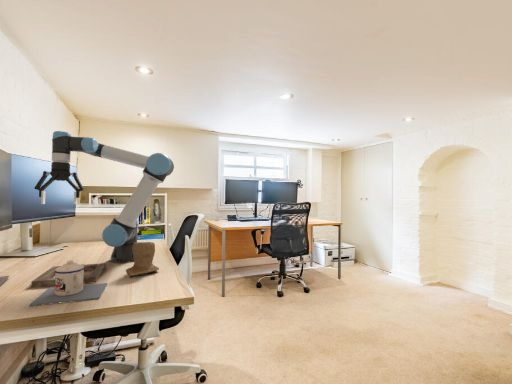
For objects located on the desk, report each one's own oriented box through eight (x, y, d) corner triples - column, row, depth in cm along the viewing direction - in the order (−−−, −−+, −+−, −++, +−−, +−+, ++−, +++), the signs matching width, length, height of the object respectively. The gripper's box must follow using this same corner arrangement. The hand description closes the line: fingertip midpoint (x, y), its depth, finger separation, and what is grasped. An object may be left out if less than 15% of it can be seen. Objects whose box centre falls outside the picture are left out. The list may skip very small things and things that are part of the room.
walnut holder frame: (105, 268, 129) (106, 263, 129) (95, 282, 109) (95, 276, 109) (52, 271, 122) (53, 266, 122) (31, 287, 101) (31, 281, 101)
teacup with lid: (48, 293, 94) (50, 261, 95) (76, 286, 102) (77, 256, 103) (65, 300, 89) (67, 266, 89) (93, 292, 97) (94, 261, 97)
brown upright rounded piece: (149, 267, 133) (150, 238, 133) (162, 272, 125) (163, 241, 125) (119, 273, 121) (120, 241, 121) (130, 279, 114) (131, 245, 114)
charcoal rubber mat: (107, 284, 107) (107, 282, 107) (98, 299, 92) (99, 297, 92) (48, 289, 100) (48, 287, 100) (29, 306, 85) (29, 304, 85)
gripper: (91, 164, 138) (90, 204, 138) (33, 161, 130) (32, 203, 129) (87, 163, 131) (86, 204, 131) (26, 159, 123) (25, 204, 122)
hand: (59, 204), depth 130 cm, fingers open, 13 cm apart
